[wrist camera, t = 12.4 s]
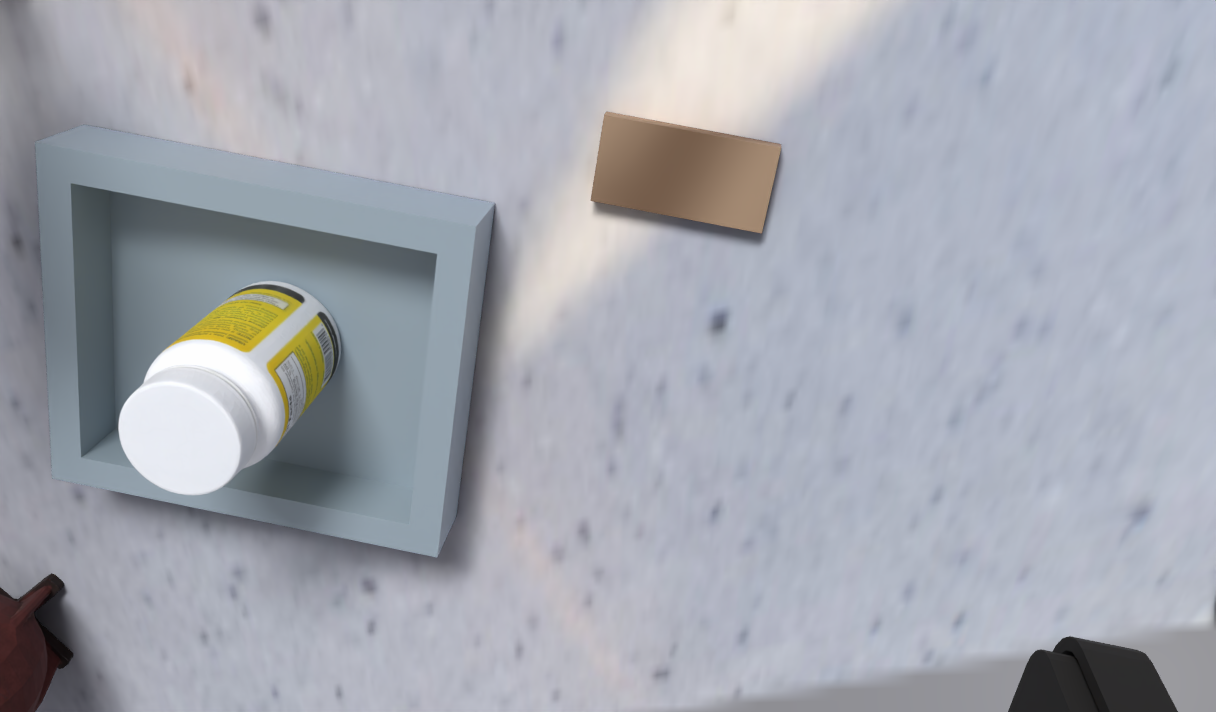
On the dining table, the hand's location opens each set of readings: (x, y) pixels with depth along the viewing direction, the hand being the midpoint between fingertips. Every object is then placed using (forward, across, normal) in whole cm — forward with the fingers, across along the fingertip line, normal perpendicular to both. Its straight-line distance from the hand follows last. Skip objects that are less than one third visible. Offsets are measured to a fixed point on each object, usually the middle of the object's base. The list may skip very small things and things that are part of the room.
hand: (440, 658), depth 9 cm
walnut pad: (+30, -1, +3) cm, 30 cm away
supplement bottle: (+30, +13, +12) cm, 35 cm away
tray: (+30, +13, +12) cm, 35 cm away
